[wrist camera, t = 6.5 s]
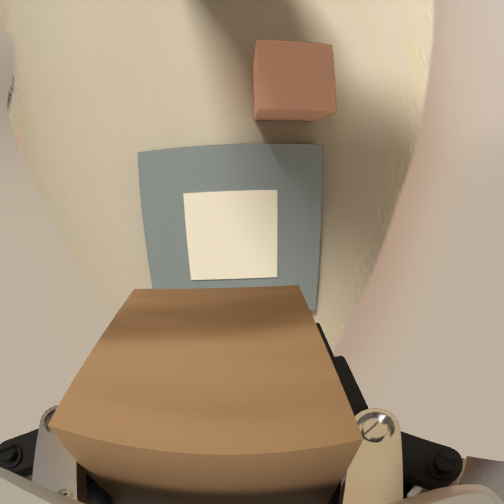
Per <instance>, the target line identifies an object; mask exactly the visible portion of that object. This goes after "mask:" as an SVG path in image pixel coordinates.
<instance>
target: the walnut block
mask: <svg viewBox="0 0 504 504" xmlns="http://www.w3.org/2000/svg"><path fill="white" fill-rule="evenodd" d="M48 426H49V427H50V429H51V430H52V432H53V433H54V434H55V435H56V437H57V438H58V439H59V441H60V442H61V443H62V444H63V446H64V447H65V448H66V449H67V451H68V452H69V453H70V454H71V455H72V457H73V458H74V459H75V460H76V461H77V462H78V463H79V465H80V466H81V467H82V468H83V469H84V470H85V471H86V472H87V473H88V474H89V475H90V476H91V477H92V478H93V479H94V480H95V481H96V482H97V483H98V484H99V485H100V486H101V487H102V488H103V489H104V490H105V491H106V492H107V493H108V494H109V495H110V496H111V497H112V498H113V499H114V500H115V501H117V502H118V503H119V504H327V503H328V501H329V500H330V498H331V497H332V495H333V493H334V492H335V490H336V489H337V487H338V485H339V484H340V482H341V480H342V478H343V477H344V475H345V473H346V471H347V470H348V468H349V466H350V464H351V462H352V460H353V459H354V457H355V455H356V453H357V451H358V449H359V447H360V445H361V443H362V441H363V436H362V434H361V431H360V429H359V426H358V424H357V421H356V419H355V416H354V414H353V411H352V409H351V406H350V404H349V401H348V399H347V396H346V394H345V391H344V389H343V387H342V384H341V382H340V379H339V377H338V375H337V372H336V370H335V367H334V365H333V363H332V360H331V358H330V356H329V353H328V351H327V348H326V346H325V344H324V341H323V339H322V337H321V335H320V332H319V330H318V328H317V325H316V323H315V321H314V318H313V316H312V314H311V312H310V309H309V307H308V305H307V303H306V300H305V298H304V296H303V294H302V291H301V289H300V287H299V285H289V286H266V287H238V288H196V289H134V290H133V292H132V293H131V295H130V296H129V297H128V299H127V300H126V302H125V303H124V304H123V306H122V307H121V309H120V310H119V311H118V313H117V314H116V316H115V317H114V319H113V320H112V322H111V323H110V324H109V326H108V327H107V329H106V331H105V332H104V333H103V335H102V336H101V338H100V339H99V341H98V342H97V344H96V345H95V347H94V348H93V350H92V352H91V353H90V355H89V356H88V358H87V359H86V361H85V362H84V364H83V366H82V367H81V369H80V370H79V372H78V374H77V375H76V377H75V379H74V380H73V382H72V383H71V385H70V387H69V389H68V390H67V392H66V394H65V395H64V397H63V399H62V400H61V402H60V404H59V406H58V407H57V409H56V411H55V413H54V415H53V416H52V418H51V420H50V422H49V424H48Z"/></svg>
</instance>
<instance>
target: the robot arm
mask: <svg viewBox="0 0 504 504" xmlns="http://www.w3.org/2000/svg"><path fill="white" fill-rule="evenodd" d="M316 325H317V328H318V330H319V332H320V335H321V337H322V339H323V341H324V344H325V346H326V348H327V351H328V353H329V356H330V358H331V360H332V363H333V365H334V367H335V370H336V372H337V375H338V377H339V379H340V382H341V384H342V387H343V389H344V391H345V394H346V396H347V399H348V401H349V404H350V406H351V409H352V411H353V414H354V416H355V419H356V421H357V424H358V426H359V429H360V431H361V434H362V436H363V441H362V443H361V445H360V447H359V449H358V451H357V453H356V455H355V457H354V459H353V460H352V462H351V464H350V466H349V468H348V470H347V471H346V473H345V475H344V477H343V478H342V480H341V482H340V484H339V485H338V487H337V489H336V490H335V492H334V493H333V495H332V497H331V498H330V500H329V501H328V503H327V504H504V462H502V461H495V460H488V459H481V458H475V457H470V456H467V457H466V458H465V459H463V458H461V456H460V454H459V453H458V452H457V451H455V450H454V449H452V448H450V447H447V446H444V445H440V444H437V443H434V442H430V441H428V440H425V439H421V438H419V437H415V436H413V435H410V434H407V433H404V432H401V431H400V424H399V421H398V420H397V418H396V417H395V416H394V415H393V414H392V413H390V412H388V411H386V410H383V409H377V408H373V409H368V406H367V405H366V402H365V400H364V398H363V396H362V393H361V391H360V389H359V387H358V385H357V383H356V381H355V379H354V376H353V374H352V372H351V370H350V368H349V366H348V364H347V362H346V360H345V358H344V357H343V356H337V357H334V355H333V353H332V351H331V348H330V346H329V344H328V342H327V339H326V337H325V335H324V333H323V331H322V328H321V326H320V324H319V323H316ZM58 406H59V405H57V406H53V407H51V408H49V409H48V410H47V411H45V413H44V414H43V415H42V418H41V420H40V425H39V429H36V430H34V431H31V432H29V433H26V434H23V435H20V436H18V437H15V438H13V439H9V440H6V441H4V442H3V443H1V444H0V504H119V503H118V502H117V501H115V500H114V499H113V498H112V497H111V496H110V495H109V494H108V493H107V492H106V491H105V490H104V489H103V488H102V487H101V486H100V485H99V484H98V483H97V482H96V481H95V480H94V479H93V478H92V477H91V476H90V475H89V474H88V473H87V472H86V471H85V470H84V469H83V468H82V467H81V466H80V465H79V463H78V462H77V461H76V460H75V459H74V458H73V457H72V455H71V454H70V453H69V452H68V451H67V449H66V448H65V447H64V446H63V444H62V443H61V442H60V441H59V439H58V438H57V437H56V435H55V434H54V433H53V432H52V430H51V429H50V427H49V426H48V424H49V422H50V420H51V418H52V416H53V415H54V413H55V411H56V409H57V407H58Z"/></svg>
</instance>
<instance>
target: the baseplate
mask: <svg viewBox="0 0 504 504" xmlns="http://www.w3.org/2000/svg"><path fill="white" fill-rule="evenodd" d="M138 167H139V182H140V195H141V205H142V215H143V224H144V233H145V241H146V248H147V255H148V262H149V268H150V275H151V281H152V286H153V289H196V288H238V287H266V286H289V285H299V287H300V289H301V291H302V294H303V296H304V298H305V300H306V303H307V305H308V307H309V309H310V311H313V310H315V309H316V297H317V285H318V271H319V256H320V237H321V212H322V145H318V144H227V145H208V146H194V147H182V148H171V149H162V150H153V151H145V152H138Z"/></svg>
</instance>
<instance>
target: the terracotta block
mask: <svg viewBox="0 0 504 504" xmlns="http://www.w3.org/2000/svg"><path fill="white" fill-rule="evenodd" d="M253 94H254V120H298V121H317V120H319V119H322V118H324V117H326V116H329V115H331V114H333V113H336V91H335V75H334V62H333V50H332V45H328V44H320V43H311V42H300V41H285V40H256V46H255V52H254V59H253Z"/></svg>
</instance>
